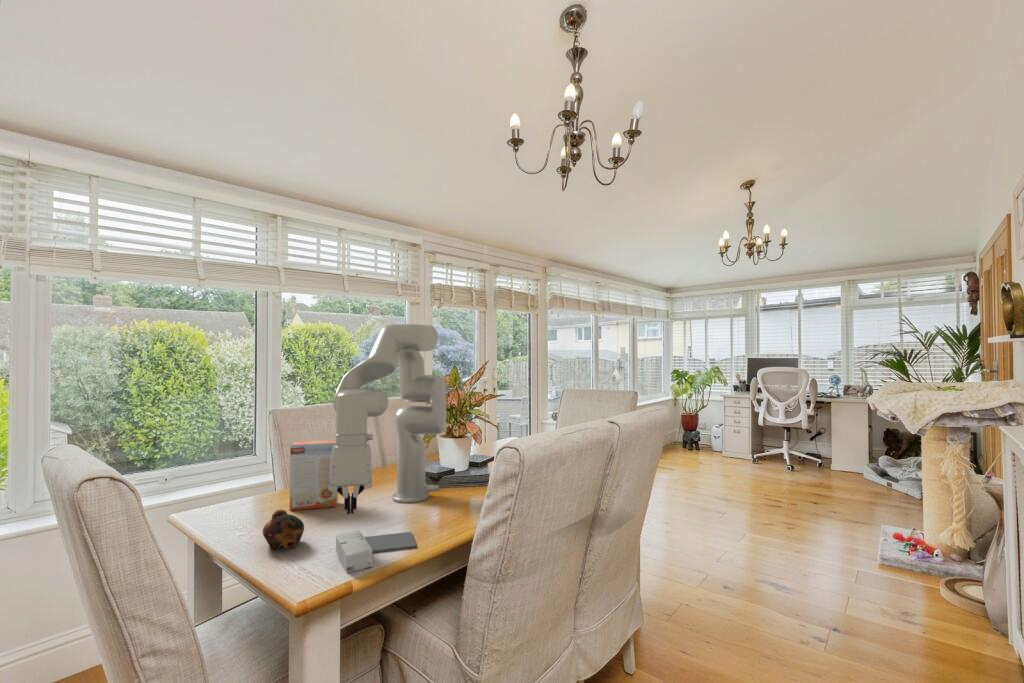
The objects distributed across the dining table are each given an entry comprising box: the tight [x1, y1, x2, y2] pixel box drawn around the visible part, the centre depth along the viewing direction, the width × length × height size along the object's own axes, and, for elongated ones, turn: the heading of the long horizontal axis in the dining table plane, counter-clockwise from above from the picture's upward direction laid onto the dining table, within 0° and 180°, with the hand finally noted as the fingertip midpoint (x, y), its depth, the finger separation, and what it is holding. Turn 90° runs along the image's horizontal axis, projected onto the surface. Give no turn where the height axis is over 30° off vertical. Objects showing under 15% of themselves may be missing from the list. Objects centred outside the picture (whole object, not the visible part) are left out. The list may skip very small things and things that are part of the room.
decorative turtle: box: [262, 509, 305, 551], centre depth 122 cm, size 10×15×8 cm, turn 43°
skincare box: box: [335, 529, 373, 574], centre depth 113 cm, size 6×4×12 cm
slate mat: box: [364, 531, 417, 554], centre depth 123 cm, size 15×10×1 cm, turn 109°
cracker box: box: [289, 439, 339, 511], centre depth 154 cm, size 14×6×21 cm, turn 104°
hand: (350, 512), depth 121 cm, fingers closed
